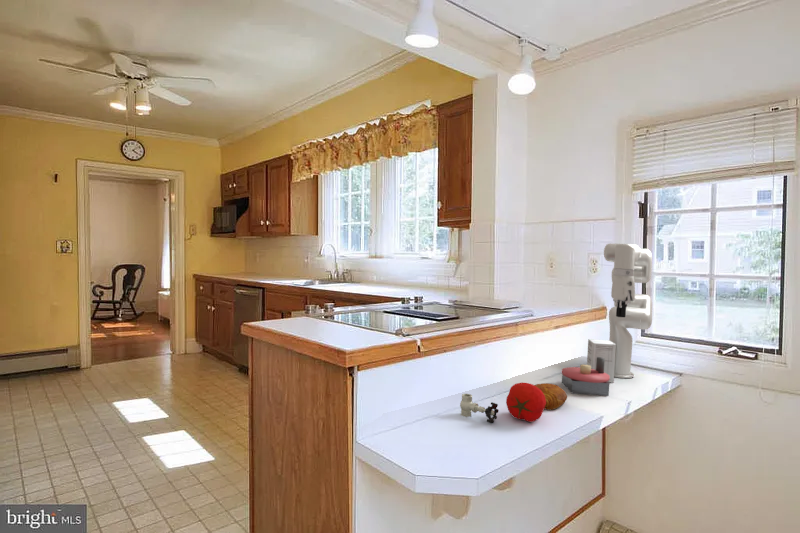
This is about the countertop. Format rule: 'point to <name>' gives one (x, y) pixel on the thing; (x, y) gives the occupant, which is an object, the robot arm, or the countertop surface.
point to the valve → (477, 408)
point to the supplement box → (602, 355)
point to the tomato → (525, 401)
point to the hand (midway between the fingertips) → (620, 316)
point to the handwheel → (588, 372)
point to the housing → (585, 387)
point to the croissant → (552, 395)
